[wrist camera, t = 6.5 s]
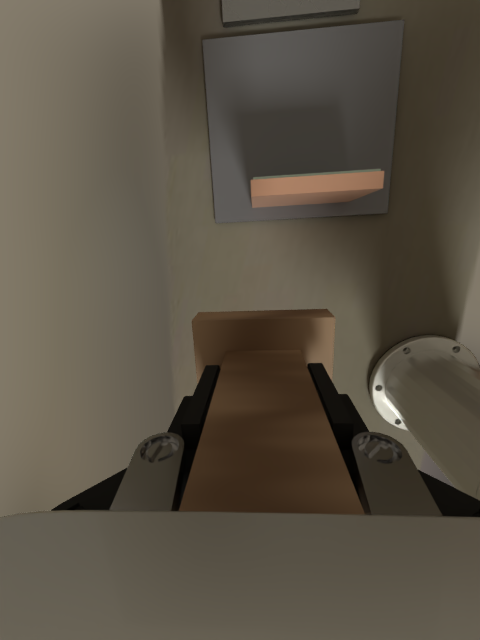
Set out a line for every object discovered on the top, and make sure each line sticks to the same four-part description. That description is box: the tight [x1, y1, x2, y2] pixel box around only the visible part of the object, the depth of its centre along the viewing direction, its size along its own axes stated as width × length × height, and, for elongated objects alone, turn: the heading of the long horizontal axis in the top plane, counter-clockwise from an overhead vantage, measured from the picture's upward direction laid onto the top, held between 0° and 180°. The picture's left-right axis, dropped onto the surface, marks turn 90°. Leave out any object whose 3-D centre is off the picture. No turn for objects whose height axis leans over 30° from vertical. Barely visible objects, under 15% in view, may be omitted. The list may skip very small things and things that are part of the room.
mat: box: [202, 20, 404, 223], centre depth 28 cm, size 18×16×1 cm
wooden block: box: [179, 309, 365, 514], centre depth 9 cm, size 6×6×10 cm
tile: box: [251, 169, 384, 208], centre depth 25 cm, size 10×1×8 cm, turn 93°
